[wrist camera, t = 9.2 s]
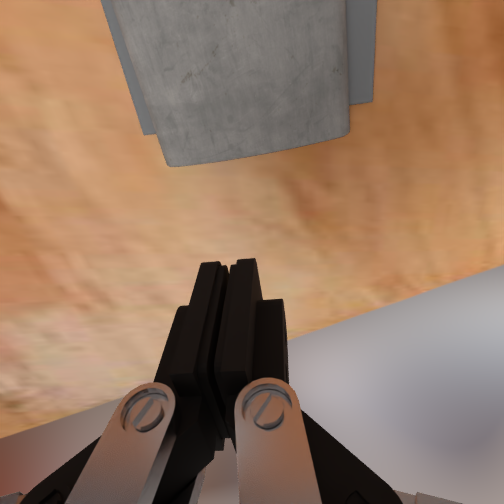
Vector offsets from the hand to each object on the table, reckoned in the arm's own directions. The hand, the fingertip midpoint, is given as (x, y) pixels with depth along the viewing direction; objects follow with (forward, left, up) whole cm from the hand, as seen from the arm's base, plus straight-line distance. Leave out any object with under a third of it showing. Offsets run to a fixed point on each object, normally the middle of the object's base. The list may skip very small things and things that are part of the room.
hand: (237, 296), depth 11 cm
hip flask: (0, +2, -21) cm, 21 cm away
